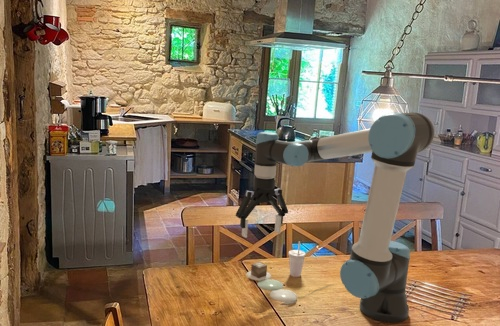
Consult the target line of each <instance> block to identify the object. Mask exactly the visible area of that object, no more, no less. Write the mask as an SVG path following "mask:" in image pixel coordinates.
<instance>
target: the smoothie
mask: <svg viewBox="0 0 500 326" xmlns="http://www.w3.org/2000/svg"><path fill="white" fill-rule="evenodd" d="M297 246H298V247H297V249H291V250H289V251H288V254H287V255H288V261H289V275H290V276H291V277H293V278H299V277H301V275H302V271H303V266H304V261H305V258H306V255H307V254H306V252H305V251H304V250H301V249H300V248H301V241H298V244H297Z"/></svg>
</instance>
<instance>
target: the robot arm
mask: <svg viewBox="0 0 500 326" xmlns="http://www.w3.org/2000/svg"><path fill="white" fill-rule="evenodd" d="M434 138H435V128H434V125H433V122H432V121H431V120H430V119H429V118H428V117H427V116H426V115H424V114H423V113H420V112H413V111H411V112H396V111H395V112H391V113H388V114H384V115H382V116H379V118H377V119H376V120H375V121H373V123H372V124H371V127H369V128H366V129H360V130H357V131H351V132H344V133H341V134H335V135H330V136H324V137H318V138H314V139H309V140H298V141H285V140H280V139H279V135H278V133H276V132H271V131H261V132H258V133H257V134H256V139H255V140H256V141H255V145H254V146H255V155H254V156H255V157H254V159H255V160H254V172H253V174H254V177H253V190H248V189H246V190H245V191H244V197H243V198H242V200H241V202H240V205H239V207H238V209H237V210H236V213H235V217H236V218H238V219H240V223H239V226H240V228H241V236H242V237H243V238H245V239H246V238H248V231H249V230H248V228H249V219H248V217H249V215H250V214H251V213H252V212H253V210H254V209H255V208H256V207H257V205H259V204H264V203H266V204H268V203H270V205H271V206H272V207H273V208H274V210H275V211H276V214H275V218H274V222H275V223H274V232H276V233H277V234H279V235H280V234H281V228H282V227H281V226H282V225H283V222H284V217H285V216H286V214H288V213H289V209H288V207H287V206H288V205H286V202H285V199H284V196H283V190H282V188H280V187H276V175H277V174H276V173H277V163H278V164H282V165H288V166H291V167H298V168H299V167H303V166H304V165H305V164H306V163H310V162H319V161H324V160H328V159H337V158H343V157H348V156H350V157H351V156H357V155H362V154H370V153H371V157H370V158H371V160H372V162H373V163H374V170H373V174H372V178H371V184H370V188H369V191H368V196H367V201H366V207H365V211H364V215H363V220H362V225H361V230H360V234H359V237H358V241H357V242H355V243H353V245H352V246H351V250H350V255H349V259H348V260H345V261H344V263H342V265H341V267H340V270H339V276H340V281H341V283H342V285H343V286H344V287H345V289H346V291H347V292H348V293H349V294H350V295H352V296H353V297H355V298H358V299H360V300H359V310H360V311H361V312H362V313H363V314H364V315H365V316H367V317H368V318H371V319H373V320H376V321H379V322H383V323H389V324H390V323H394V324H395V323H402V322H404V321H406V320H407V319H408V318H409V314H410V313H409V312H410V311H409V310H410V307H409V304H408V299H407V294H406V289H407V288H406V287H407V281H408V273H409V272H408V271H409V265H410V259H411V257H410V256H411V250H410V248H409V247H408V246H407V245H405V244H403V243H401V242H398V241H393V240H391V239H392V236H393V231H394V227H395V223H396V219H397V214H398V211H399V206H400V201H401V197H402V194H403V193H402V192H403V188H404V185H405V181H406V176H407V172H408V171H409V170H411V169H412V168H414V167H415V163H416V160H417V157H418V156H417V155H418V153H420V152H423V151H425V150H426V149H428V147H429V146H431V144H432V142H433V140H434ZM275 187H276V188H275ZM274 196H276V199H277V201H278V203H277V201H276V200H275V198H274Z"/></svg>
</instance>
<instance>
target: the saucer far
mask: <svg viewBox="0 0 500 326" xmlns="http://www.w3.org/2000/svg"><path fill="white" fill-rule="evenodd" d="M245 275H246V277H247V278H249V279H250V280H252V281H257V282H259V281H261V280H267V279H272V275H271V273H270V272H268V271H267V275H266V276H264V277H261V278H257V277H255V276H253V275H251V270H249V271H247V272H246V274H245Z"/></svg>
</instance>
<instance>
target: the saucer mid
mask: <svg viewBox="0 0 500 326" xmlns="http://www.w3.org/2000/svg"><path fill="white" fill-rule="evenodd" d="M257 286H258V288H260V289H262V290H264V291H268V292H269V291H270V292H272V291H275V290H278V289H284V284H283V282H282V281H280V280H277V279H273V278H269V279H267V280H261V281H257Z"/></svg>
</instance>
